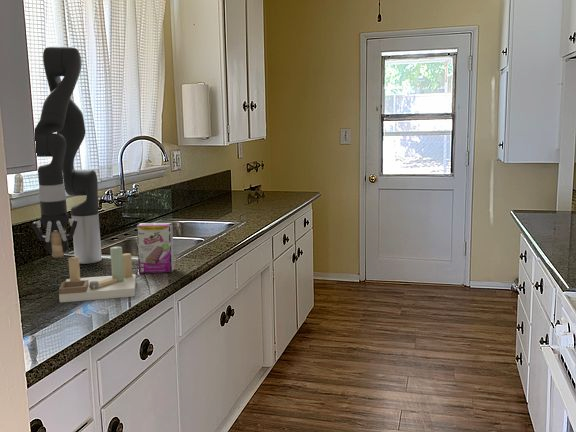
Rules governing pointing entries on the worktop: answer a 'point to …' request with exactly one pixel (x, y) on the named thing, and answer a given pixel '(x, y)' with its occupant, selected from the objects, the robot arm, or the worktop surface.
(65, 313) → the worktop surface
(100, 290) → the stool seat
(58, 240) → the loose leg
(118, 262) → the hinged leg
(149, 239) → the candy bar box
